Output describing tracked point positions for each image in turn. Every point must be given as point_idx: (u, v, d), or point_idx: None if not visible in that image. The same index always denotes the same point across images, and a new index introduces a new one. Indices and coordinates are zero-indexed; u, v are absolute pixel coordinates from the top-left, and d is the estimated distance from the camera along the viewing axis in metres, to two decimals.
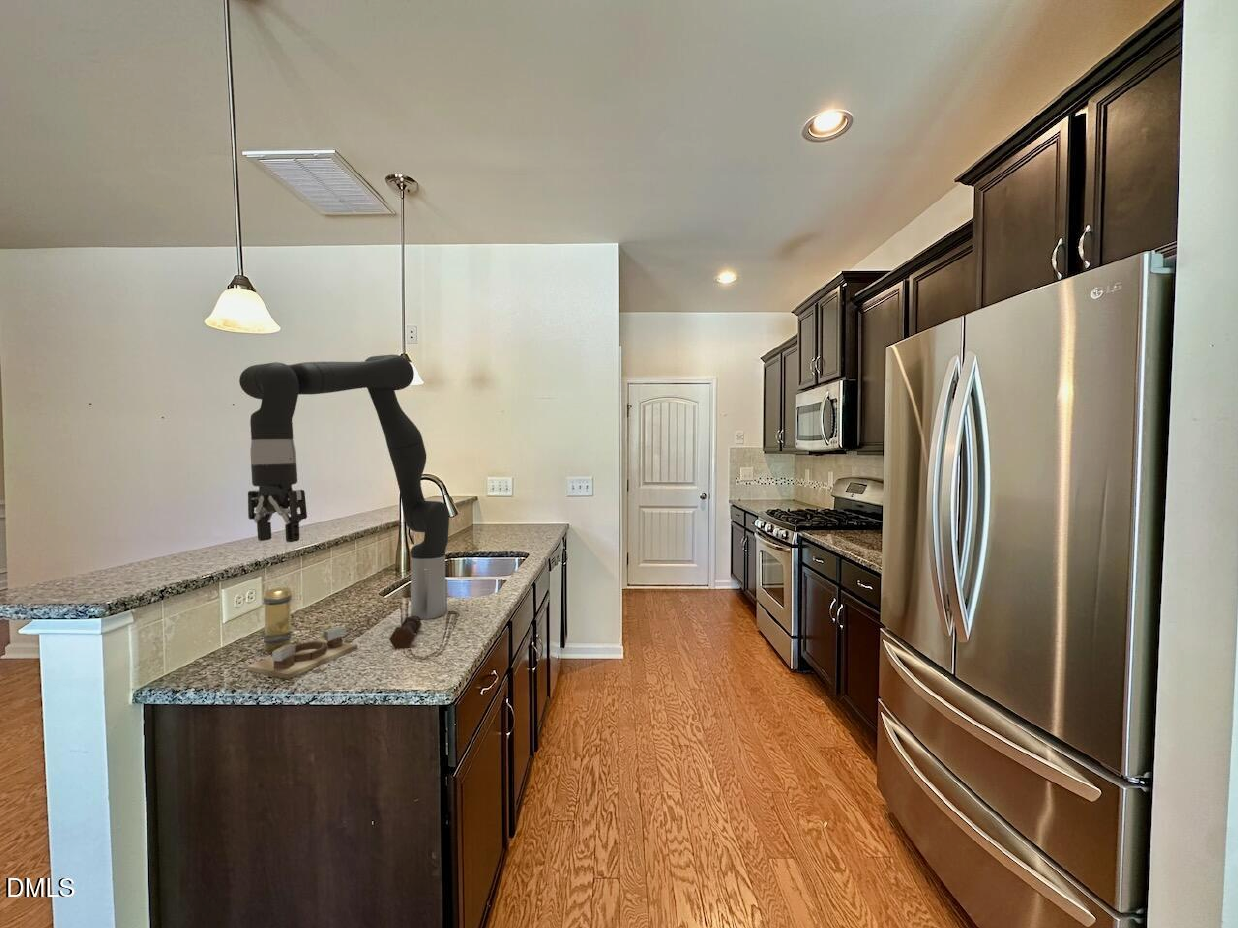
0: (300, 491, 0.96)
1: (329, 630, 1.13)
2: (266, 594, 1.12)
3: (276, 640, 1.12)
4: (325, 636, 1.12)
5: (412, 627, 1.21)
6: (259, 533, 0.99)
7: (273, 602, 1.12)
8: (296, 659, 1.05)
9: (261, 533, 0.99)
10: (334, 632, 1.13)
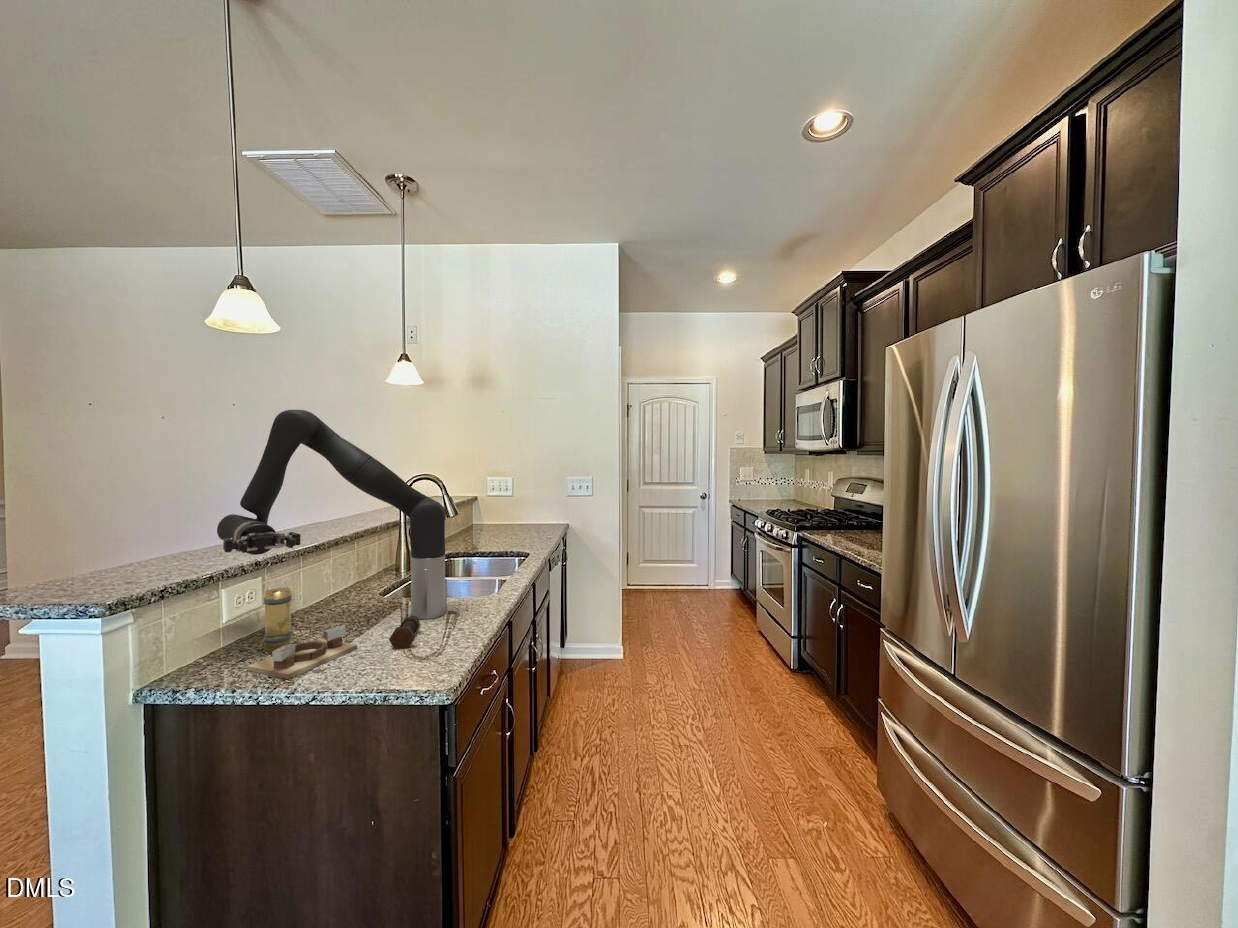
0: None
1: (329, 630, 1.13)
2: (266, 594, 1.12)
3: (276, 640, 1.12)
4: (325, 636, 1.12)
5: (411, 627, 1.21)
6: None
7: (273, 602, 1.12)
8: (296, 659, 1.05)
9: (288, 546, 1.11)
10: (334, 632, 1.13)
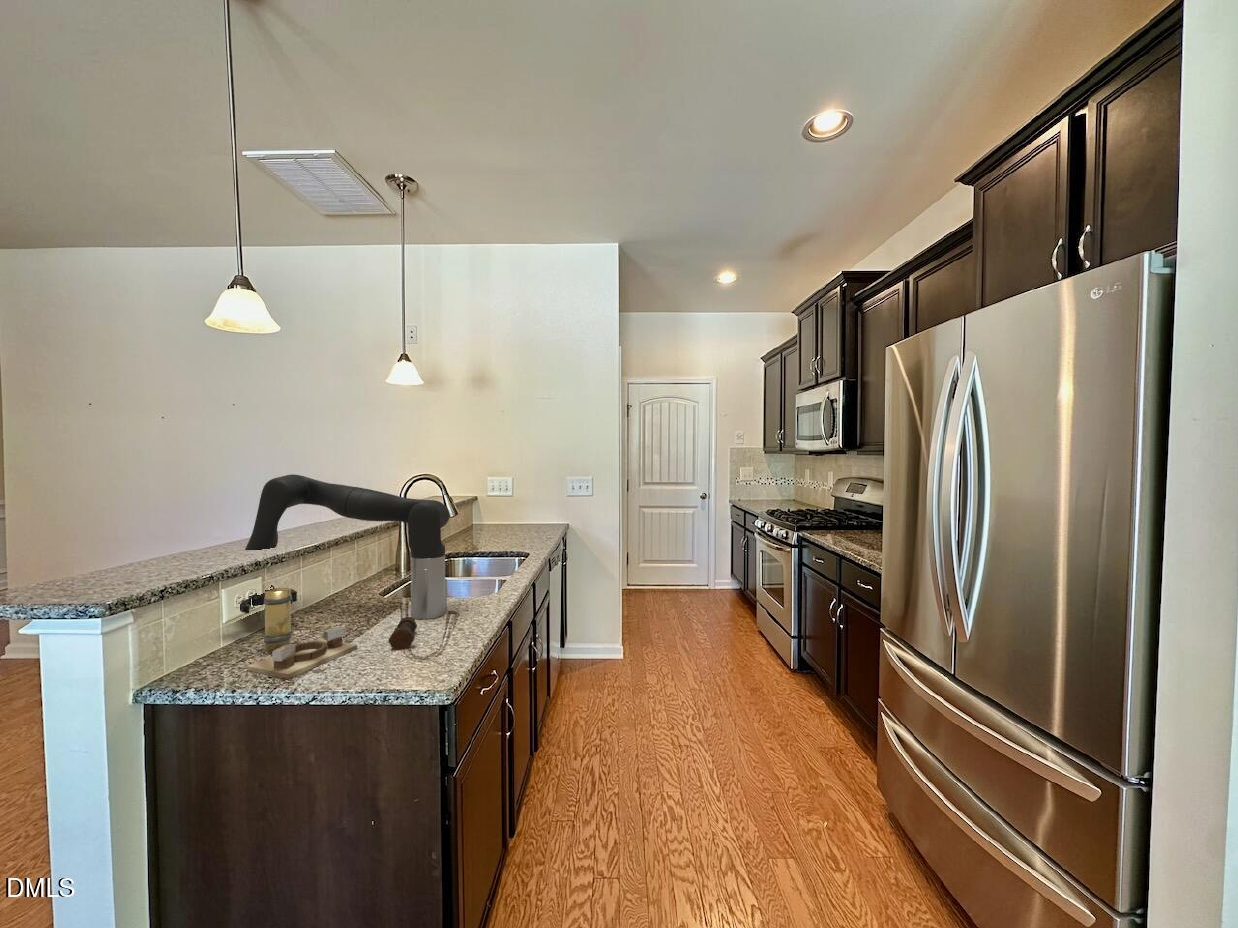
0: None
1: (329, 630, 1.13)
2: (266, 594, 1.12)
3: (276, 640, 1.12)
4: (325, 636, 1.12)
5: (409, 628, 1.21)
6: None
7: (273, 602, 1.12)
8: (296, 659, 1.05)
9: None
10: (334, 632, 1.13)
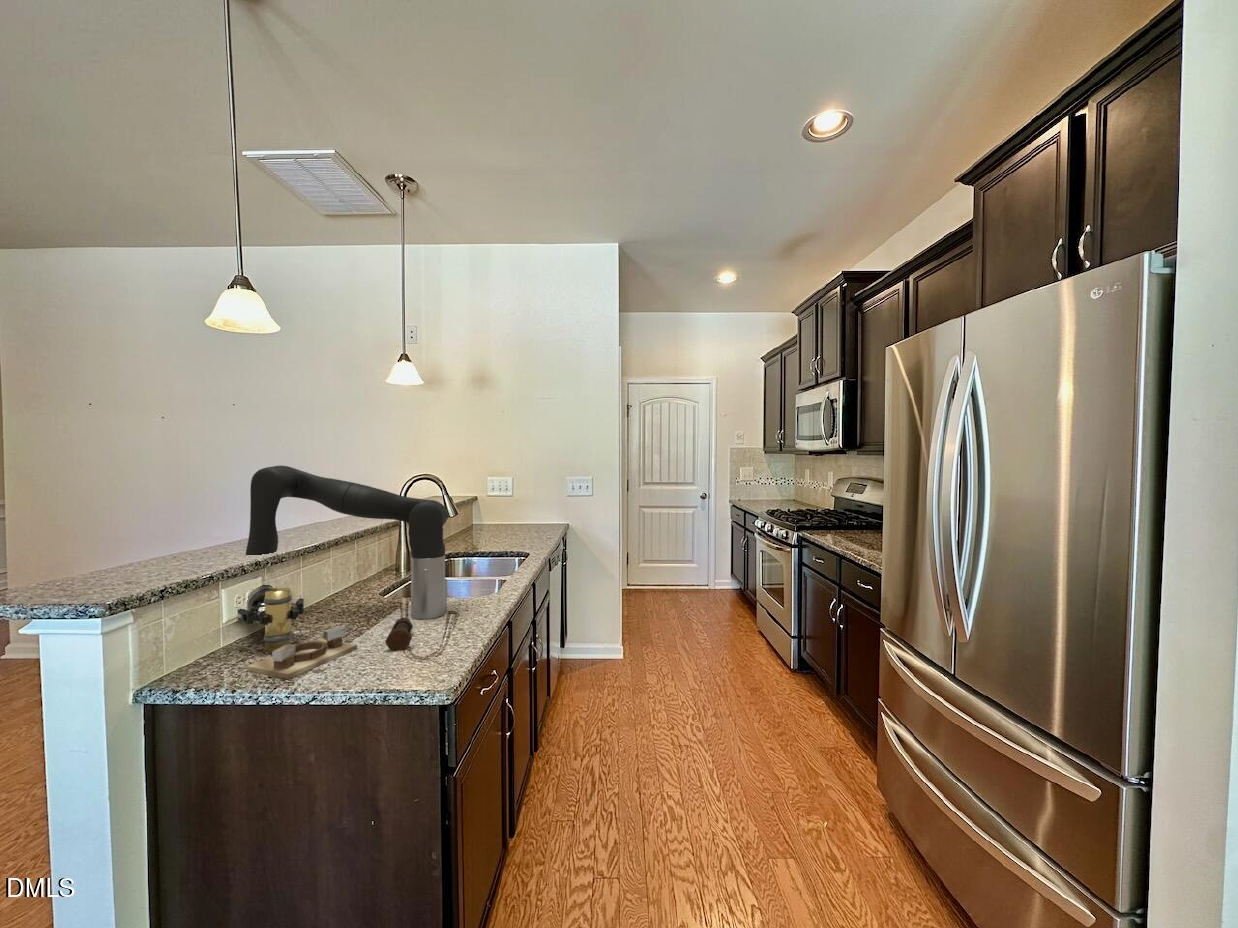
0: None
1: (329, 630, 1.13)
2: (266, 594, 1.12)
3: (276, 640, 1.12)
4: (325, 636, 1.12)
5: (406, 629, 1.20)
6: None
7: (273, 602, 1.12)
8: (296, 659, 1.05)
9: (291, 617, 1.16)
10: (334, 632, 1.13)
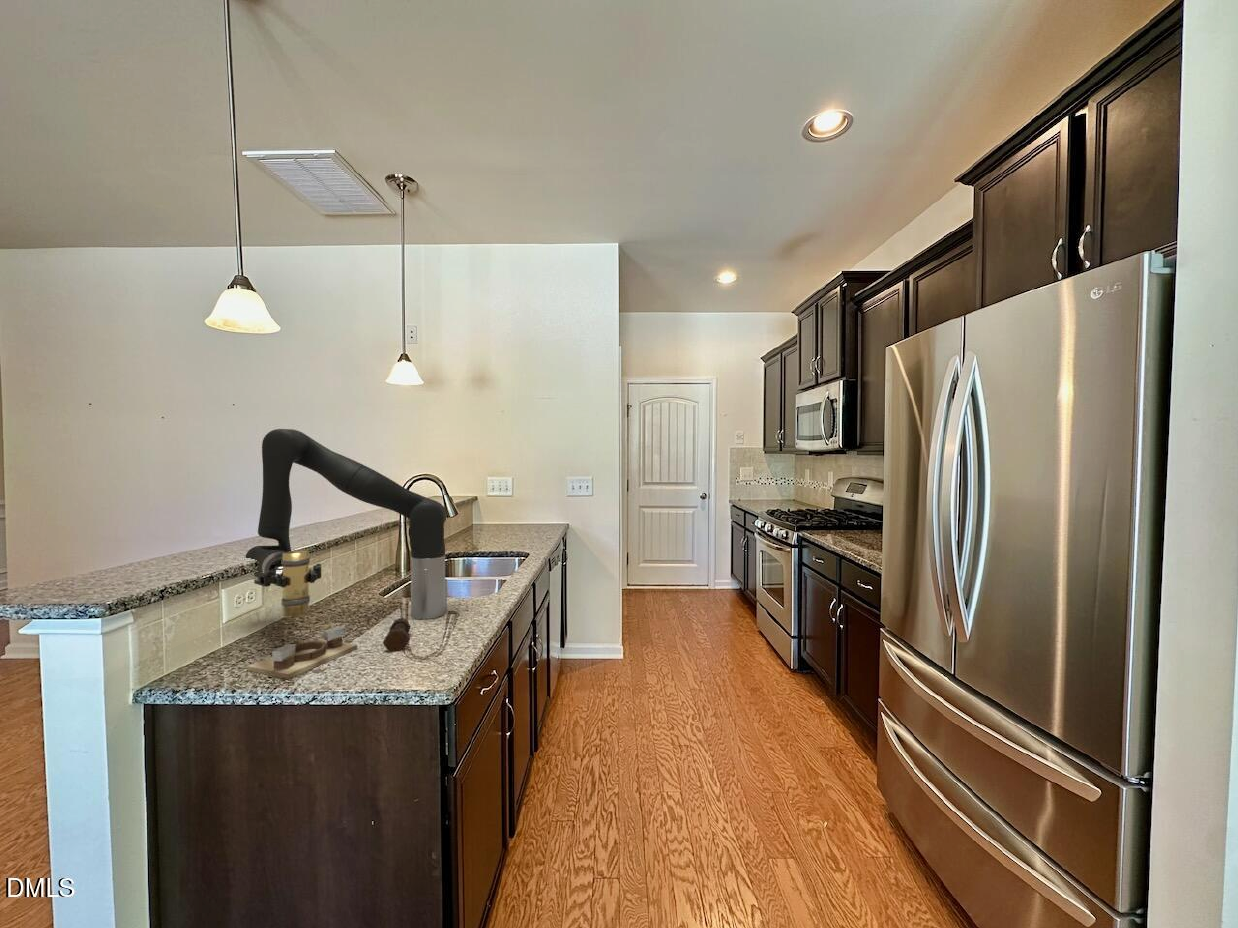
0: None
1: (329, 630, 1.13)
2: (284, 556, 1.09)
3: (294, 603, 1.09)
4: (325, 636, 1.12)
5: (404, 630, 1.19)
6: None
7: (291, 564, 1.08)
8: (296, 659, 1.05)
9: (309, 580, 1.12)
10: (334, 632, 1.13)
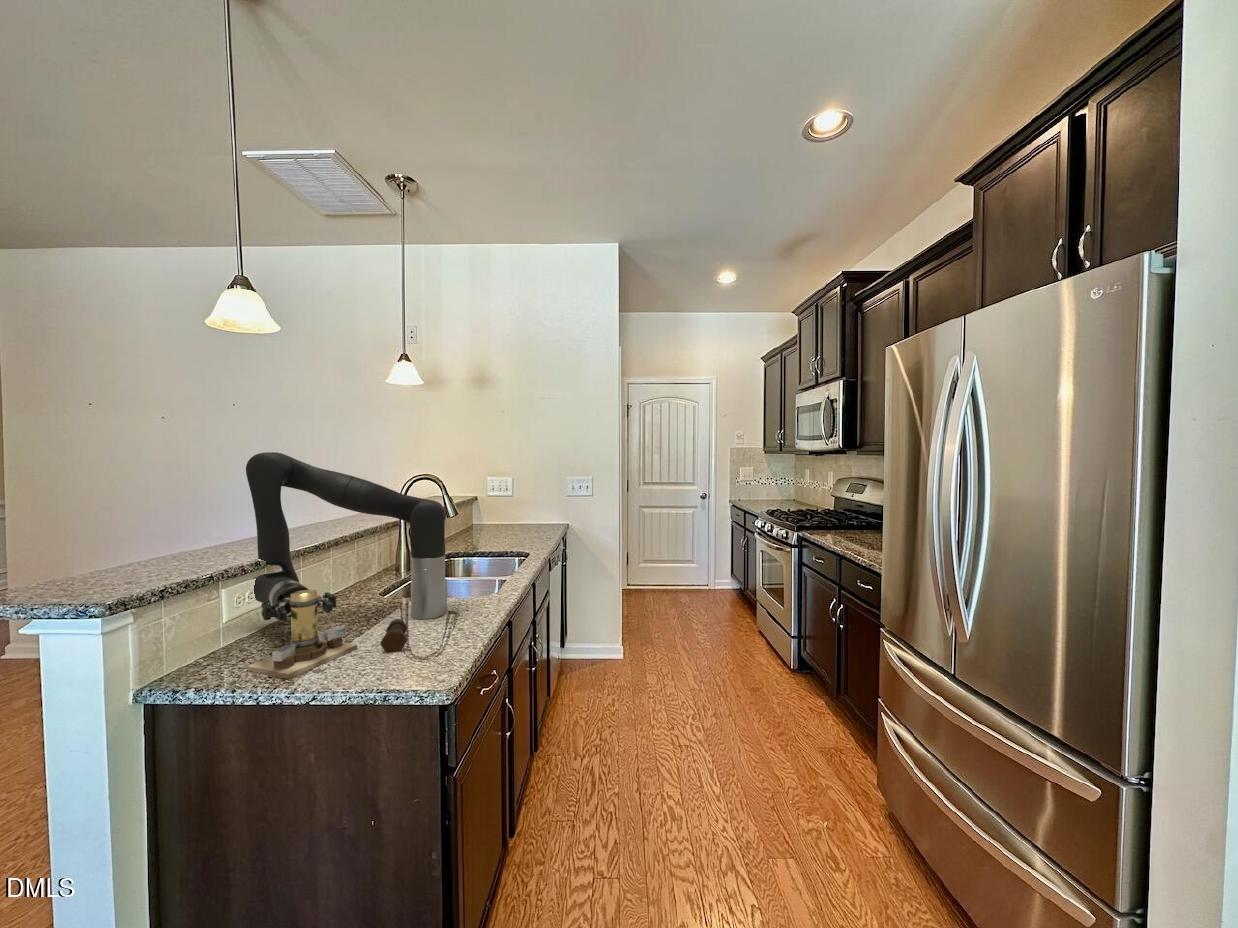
0: None
1: (329, 630, 1.13)
2: (292, 596, 1.07)
3: (303, 645, 1.07)
4: (325, 636, 1.12)
5: None
6: None
7: (300, 605, 1.06)
8: (296, 659, 1.05)
9: (325, 610, 1.11)
10: (334, 632, 1.13)
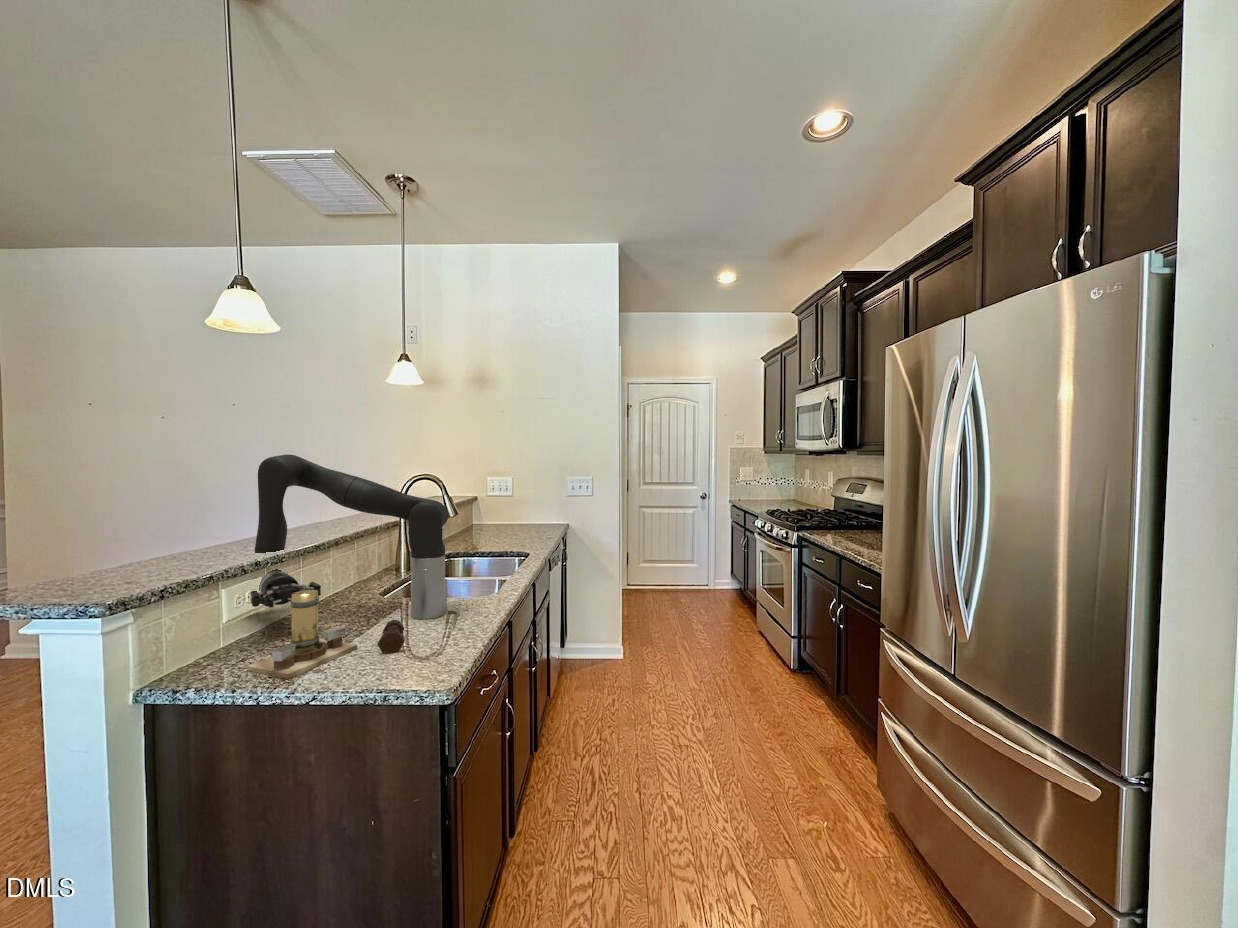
0: None
1: (329, 630, 1.13)
2: (293, 597, 1.07)
3: (304, 645, 1.07)
4: (325, 636, 1.12)
5: None
6: None
7: (300, 605, 1.06)
8: (296, 659, 1.05)
9: None
10: (334, 632, 1.13)
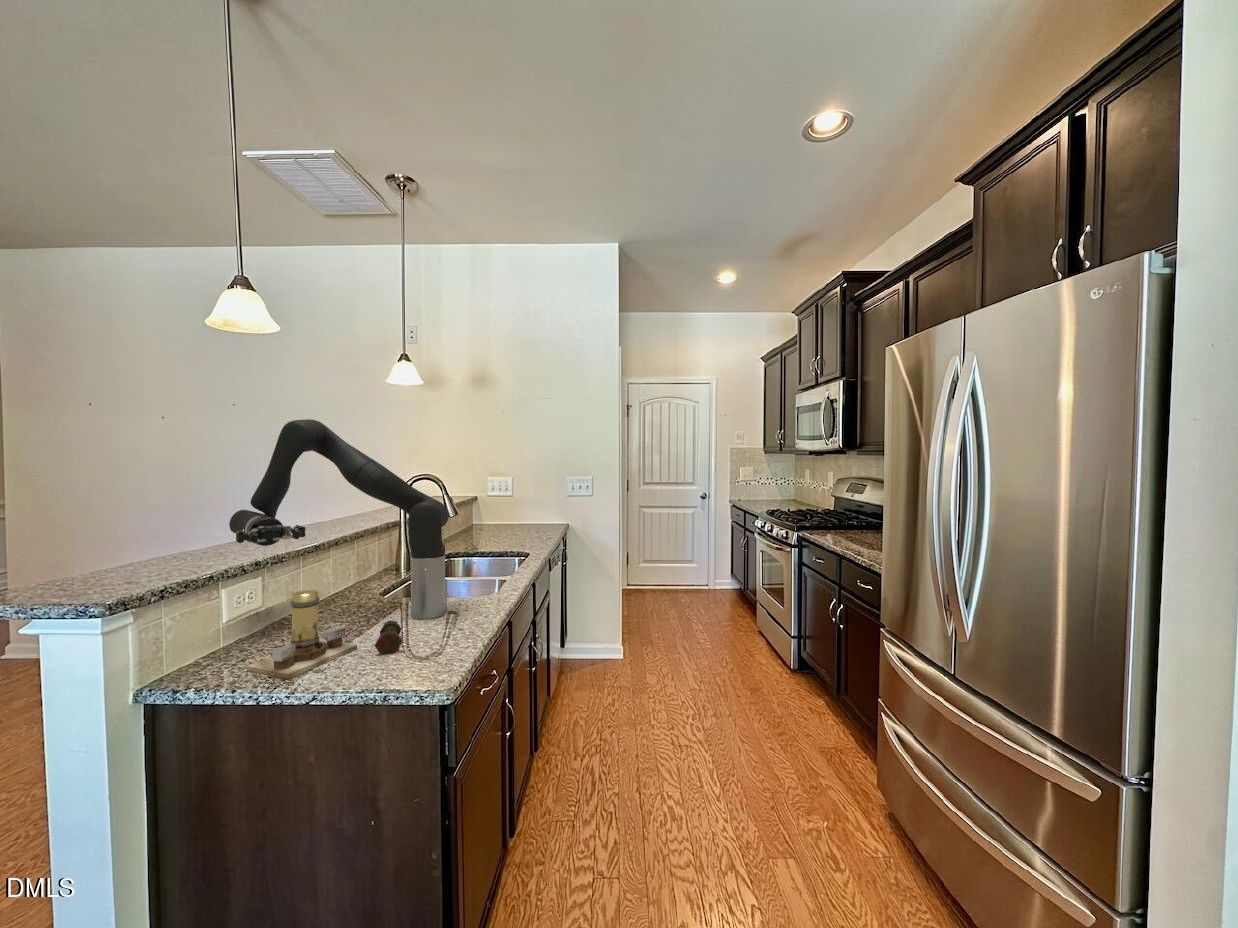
0: None
1: (329, 630, 1.13)
2: (293, 597, 1.07)
3: (304, 645, 1.07)
4: (325, 636, 1.12)
5: None
6: (295, 538, 1.23)
7: (301, 605, 1.06)
8: (296, 659, 1.05)
9: (294, 537, 1.23)
10: (334, 632, 1.13)
